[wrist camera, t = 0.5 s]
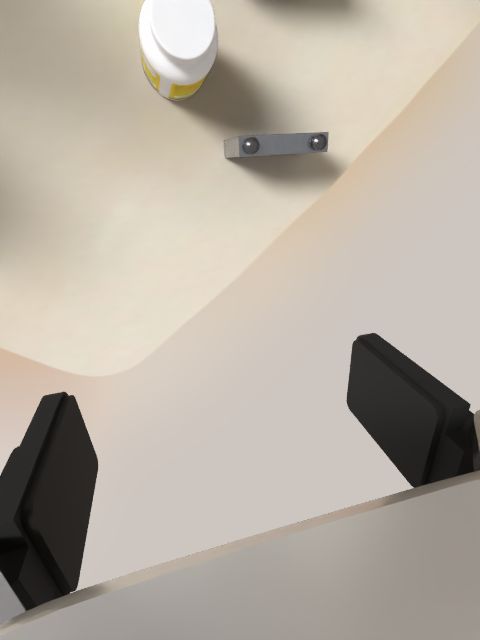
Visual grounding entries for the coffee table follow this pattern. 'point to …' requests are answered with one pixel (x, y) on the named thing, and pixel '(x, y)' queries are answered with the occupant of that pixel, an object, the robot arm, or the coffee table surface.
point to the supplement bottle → (177, 45)
